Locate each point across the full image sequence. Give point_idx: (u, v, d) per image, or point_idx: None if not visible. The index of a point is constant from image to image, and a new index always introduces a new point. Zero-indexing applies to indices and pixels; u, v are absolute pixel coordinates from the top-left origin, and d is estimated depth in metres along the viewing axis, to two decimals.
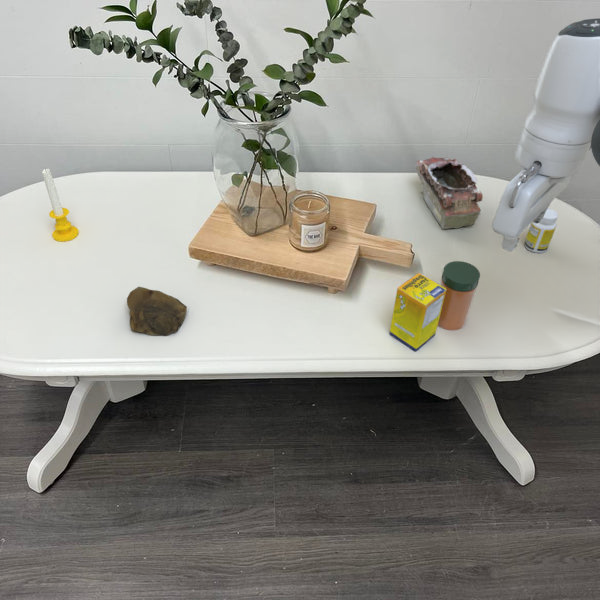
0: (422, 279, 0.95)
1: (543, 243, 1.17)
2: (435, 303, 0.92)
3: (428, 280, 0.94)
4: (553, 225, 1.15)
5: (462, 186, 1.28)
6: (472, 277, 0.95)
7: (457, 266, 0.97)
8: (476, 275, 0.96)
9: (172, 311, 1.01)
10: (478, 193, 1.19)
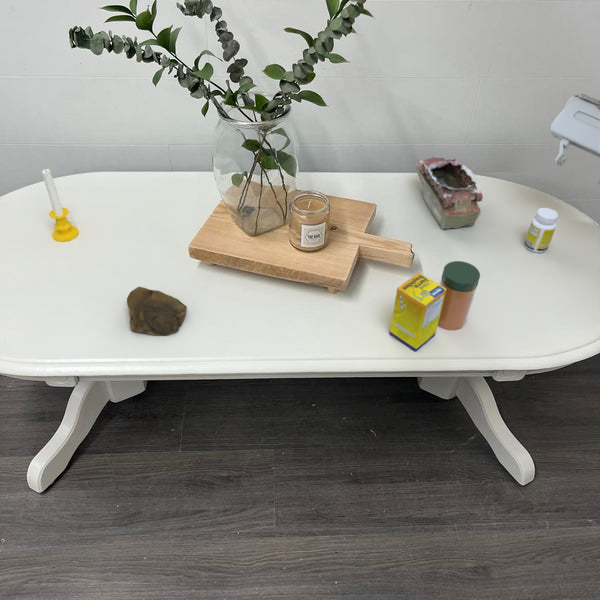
0: (422, 279, 0.95)
1: (543, 243, 1.17)
2: (434, 303, 0.92)
3: (428, 280, 0.94)
4: (553, 225, 1.15)
5: (462, 186, 1.28)
6: (472, 277, 0.95)
7: (457, 266, 0.97)
8: (476, 275, 0.96)
9: (172, 311, 1.01)
10: (478, 193, 1.19)
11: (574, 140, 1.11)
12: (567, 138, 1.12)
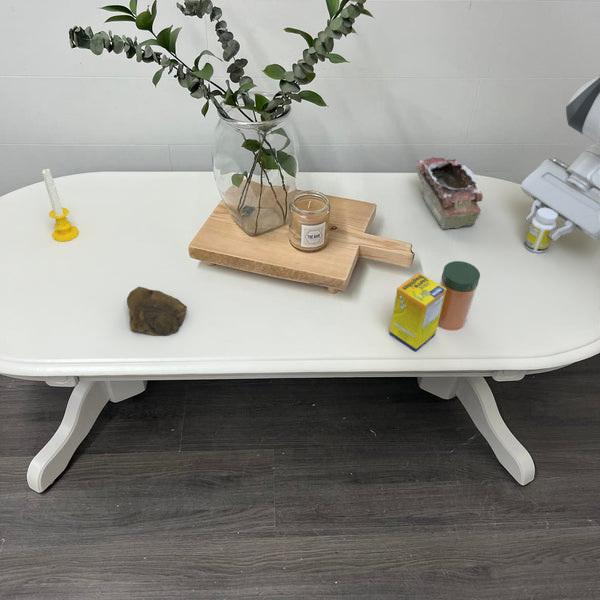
0: (422, 279, 0.95)
1: (543, 243, 1.17)
2: (435, 303, 0.92)
3: (428, 280, 0.94)
4: (553, 225, 1.15)
5: (462, 186, 1.28)
6: (472, 277, 0.95)
7: (457, 266, 0.97)
8: (476, 275, 0.96)
9: (172, 311, 1.01)
10: (478, 193, 1.19)
11: (539, 198, 1.18)
12: (533, 196, 1.19)
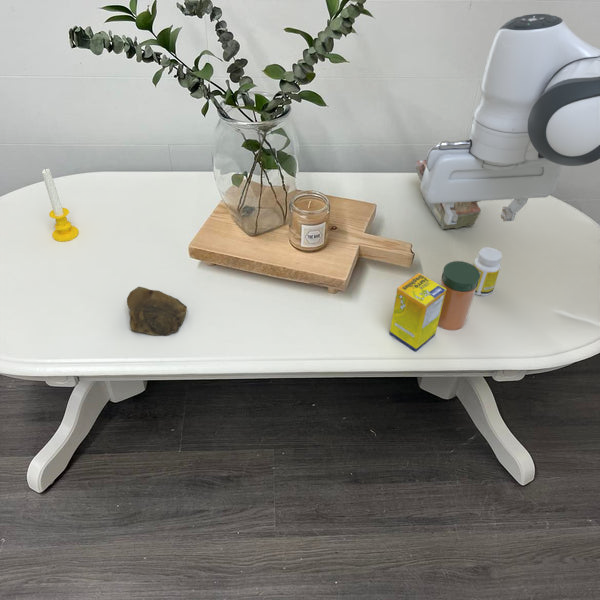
0: (422, 279, 0.95)
1: (487, 286, 1.07)
2: (434, 303, 0.92)
3: (428, 280, 0.94)
4: (496, 267, 1.04)
5: None
6: (472, 277, 0.95)
7: (457, 266, 0.97)
8: (476, 275, 0.96)
9: (172, 311, 1.01)
10: None
11: (463, 201, 0.85)
12: None
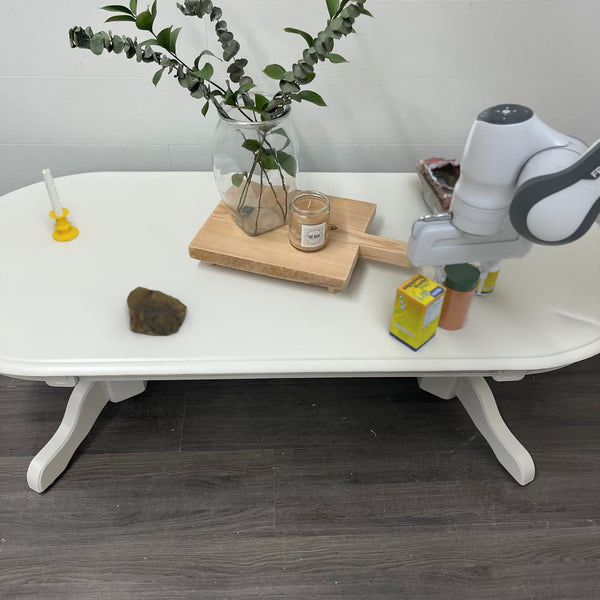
0: (422, 279, 0.95)
1: (487, 286, 1.07)
2: (434, 303, 0.92)
3: (428, 280, 0.94)
4: (496, 267, 1.04)
5: None
6: (472, 277, 0.95)
7: (457, 266, 0.97)
8: (476, 275, 0.96)
9: (172, 311, 1.01)
10: None
11: (445, 264, 0.92)
12: None
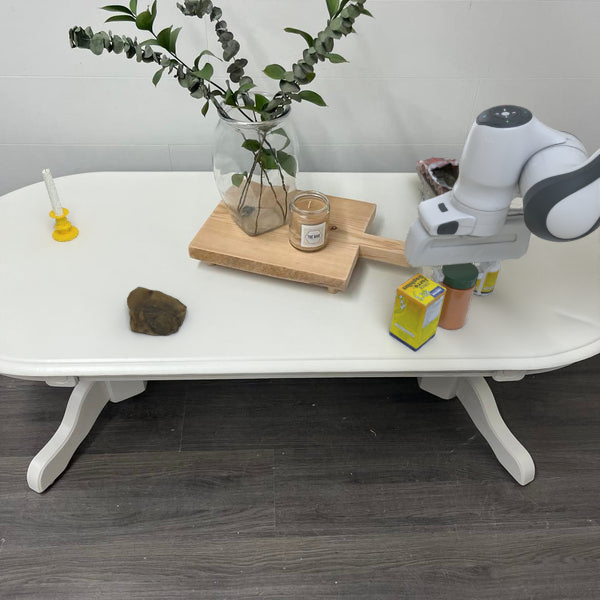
0: (422, 279, 0.95)
1: (487, 286, 1.07)
2: (434, 303, 0.92)
3: (428, 280, 0.94)
4: (497, 267, 1.04)
5: None
6: (449, 265, 0.97)
7: (464, 275, 0.95)
8: (445, 267, 0.97)
9: (172, 311, 1.01)
10: None
11: None
12: None
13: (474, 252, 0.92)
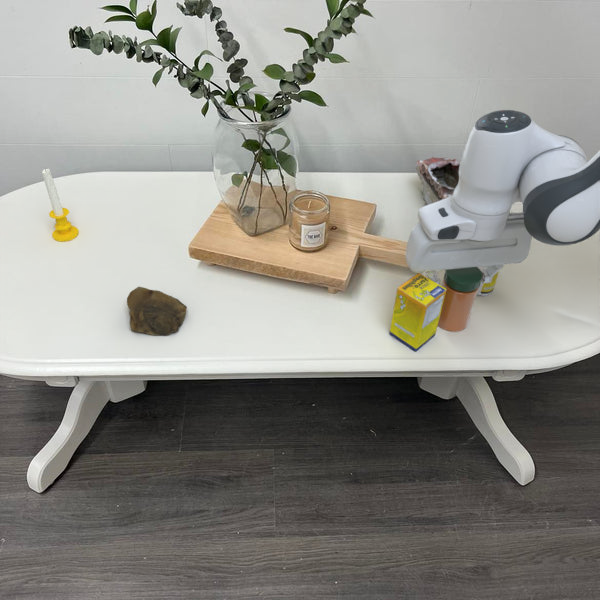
0: (422, 280, 0.95)
1: (487, 286, 1.07)
2: (434, 303, 0.92)
3: (428, 280, 0.94)
4: None
5: None
6: None
7: (468, 278, 0.95)
8: (449, 269, 0.96)
9: (172, 311, 1.01)
10: None
11: None
12: None
13: (475, 257, 0.92)
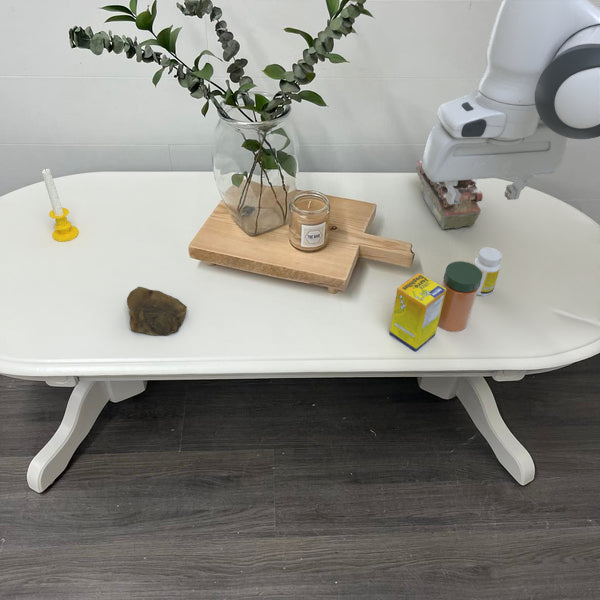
0: (422, 279, 0.95)
1: (487, 286, 1.07)
2: (435, 303, 0.92)
3: (428, 280, 0.94)
4: (497, 267, 1.04)
5: (462, 186, 1.28)
6: (453, 267, 0.97)
7: (468, 278, 0.95)
8: (449, 269, 0.96)
9: (172, 311, 1.01)
10: (478, 193, 1.19)
11: None
12: None
13: (502, 164, 0.81)
